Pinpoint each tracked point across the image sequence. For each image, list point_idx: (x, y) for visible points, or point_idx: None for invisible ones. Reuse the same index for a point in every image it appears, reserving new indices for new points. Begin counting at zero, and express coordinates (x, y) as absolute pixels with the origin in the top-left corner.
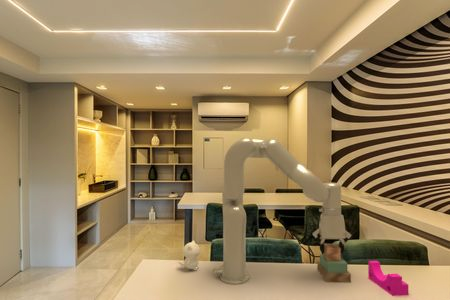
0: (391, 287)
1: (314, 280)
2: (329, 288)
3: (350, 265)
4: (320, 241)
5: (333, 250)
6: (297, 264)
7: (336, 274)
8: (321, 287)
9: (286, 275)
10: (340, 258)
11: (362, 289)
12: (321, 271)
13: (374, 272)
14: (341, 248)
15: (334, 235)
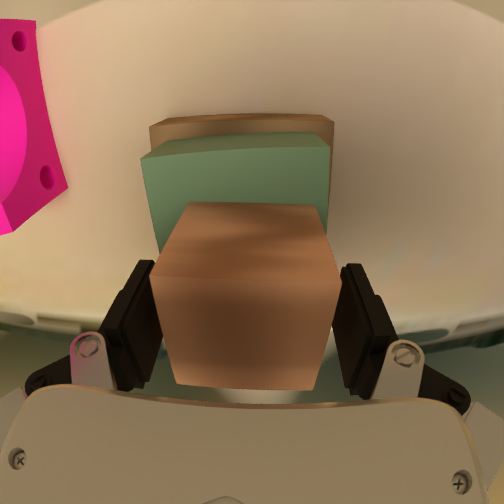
0: (9, 25)
1: (381, 141)
2: (327, 40)
3: None
4: (421, 369)
5: (251, 259)
6: None
7: (253, 119)
8: (370, 55)
9: (482, 206)
10: (183, 213)
11: (130, 47)
12: None
13: (20, 162)
14: (138, 296)
15: (214, 474)
